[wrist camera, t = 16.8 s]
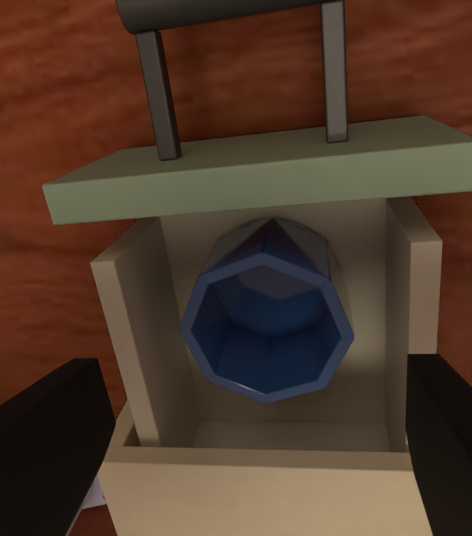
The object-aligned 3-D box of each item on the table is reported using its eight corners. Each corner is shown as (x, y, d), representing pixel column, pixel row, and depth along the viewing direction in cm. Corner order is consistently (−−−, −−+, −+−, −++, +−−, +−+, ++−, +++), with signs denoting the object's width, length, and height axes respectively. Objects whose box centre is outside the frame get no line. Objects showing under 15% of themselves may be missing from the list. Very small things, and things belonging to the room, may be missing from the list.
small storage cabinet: (159, 340, 22) (91, 462, 16) (428, 334, 20) (487, 474, 13) (204, 539, 28) (169, 691, 21) (418, 552, 26) (456, 729, 19)
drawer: (88, 8, 16) (-22, -19, 11) (432, -54, 14) (506, -126, 8) (180, 416, 23) (141, 520, 18) (415, 418, 21) (449, 536, 16)
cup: (242, 349, 20) (226, 414, 16) (187, 245, 18) (155, 291, 14) (359, 313, 18) (371, 376, 14) (311, 195, 16) (311, 233, 13)
